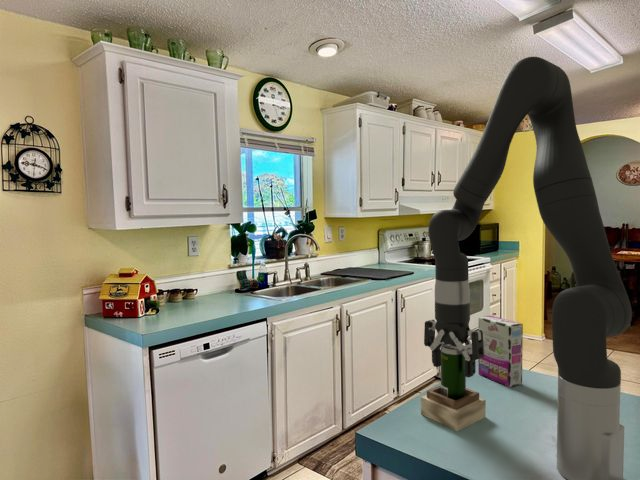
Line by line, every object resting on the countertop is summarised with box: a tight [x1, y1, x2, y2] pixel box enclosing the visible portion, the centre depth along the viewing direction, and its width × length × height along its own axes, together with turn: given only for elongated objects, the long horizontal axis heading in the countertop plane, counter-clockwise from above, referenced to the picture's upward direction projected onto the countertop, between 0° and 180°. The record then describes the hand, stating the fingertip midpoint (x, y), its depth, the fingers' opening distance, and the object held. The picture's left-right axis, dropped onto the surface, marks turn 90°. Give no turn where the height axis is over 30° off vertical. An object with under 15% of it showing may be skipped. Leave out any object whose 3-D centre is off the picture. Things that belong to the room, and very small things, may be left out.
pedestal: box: [420, 384, 487, 432], centre depth 99 cm, size 10×10×6 cm
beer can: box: [440, 344, 467, 401], centre depth 99 cm, size 5×5×12 cm
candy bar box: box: [477, 315, 524, 388], centre depth 119 cm, size 11×5×16 cm, turn 25°
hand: (452, 371), depth 98 cm, fingers open, 8 cm apart
